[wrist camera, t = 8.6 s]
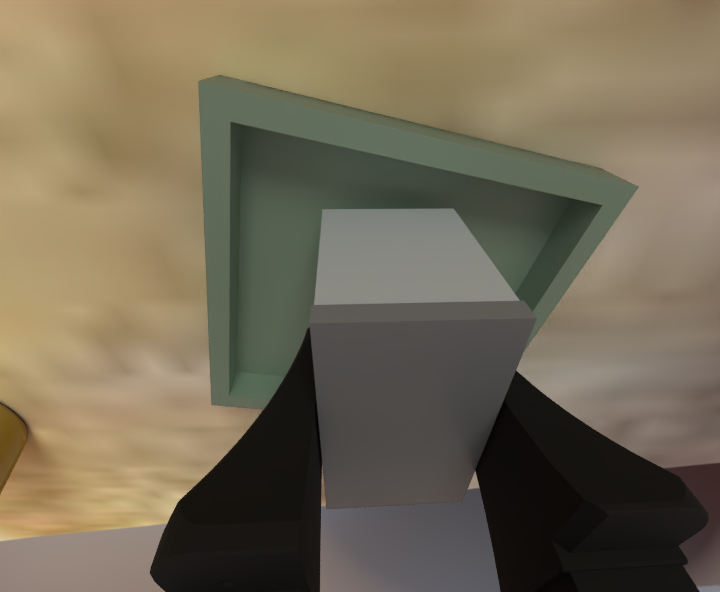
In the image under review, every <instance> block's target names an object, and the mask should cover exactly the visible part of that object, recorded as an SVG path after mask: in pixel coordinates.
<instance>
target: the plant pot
mask: <svg viewBox="0 0 720 592" xmlns="http://www.w3.org/2000/svg"><path fill="white" fill-rule="evenodd" d="M27 437H28V432H27V428H26V426H25V424H24V423H23V422H22V420H21V419H20V418H19V417H18V416H17V415H16V414H15V413H13V412H12V411H11V410H10V409H8V408H7V407H5V406H4V405H2V404H0V494H1V492H2V490H3V488H4V486H5V484H6V482H7V480H8V478H9V476H10V474H11V472H12V470H13V468H14V466H15V464H16V462H17V460H18V458H19V456H20V454H21V452H22V450H23V448H24V446H25V443H26V441H27Z"/></svg>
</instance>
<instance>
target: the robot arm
mask: <svg viewBox="0 0 720 592" xmlns="http://www.w3.org/2000/svg"><path fill="white" fill-rule="evenodd" d="M475 471H476V475H477V479H478V483H479V487H480V491H481V496H482V500H483V504H484V509H485V513H486V518H487V523H488V527H489V532H490V537H491V542H492V547H493V552H494V556H495V563H496V568H497V574H498V579H499V585H500V590H501V592H720V585H705V586H696V585H695V584H694V582H693V581H692V579H691V578H690V576H689V575H688V573H687V572H686V570H685V568H684V567H683V565H685V564H687V563H688V561H687V558H686V556H685V555H684V554H683V552H682V551H681V549H680V548H679V546H678V545H680V544H681V543H683V542H684V541H686V540H687V539H689V538H690V537H692V536H693V535H695V534H696V533H698V532H699V531H700V530H701V529H703V528H704V527H705V526H706V524H707V522H708V520H709V516H708V512H707V511H706V510H705V509H704V507H703V506H702V505H701V504H700V502H699V501H698V500H697V499H696V497H695V496H694V495H693V494H692V492H691V491H690V490H689V488H688V487H687V486H686V485H685V483H684V482H683V481H682V480H681V479H680V477H678V476H677V475H675V474H673V473H671V472H669V471H667V470H665V469H663V468H661V467H659V466H657V465H655V464H654V463H652V462H650V461H648V460H646V459H644V458H642V457H640V456H638V455H636V454H634V453H633V452H631V451H629V450H627V449H626V448H624V447H622V446H621V445H619V444H617V443H615V442H614V441H612V440H610V439H609V438H607V437H605V436H604V435H602V434H600V433H599V432H597V431H596V430H594V429H592V428H591V427H589V426H588V425H586V424H585V423H583V422H582V421H580V420H579V419H577V418H576V417H574V416H573V415H571V414H570V413H569V412H567V411H566V410H564V409H563V408H562V407H560V406H559V405H558V404H556V403H555V402H554V401H552V400H551V399H550V398H548V397H547V396H546V395H544V394H543V393H542V392H541V391H539V390H538V389H537V388H536V387H534V386H533V385H532V384H531V383H530V382H529V381H528V380H526V379H525V378H524V377H523V376H522V375H521V374H519V373H518V372H517V371H515V374H514V376H513V379H512V381H511V384H510V386H509V388H508V391H507V393H506V396H505V398H504V401H503V403H502V406H501V408H500V411H499V413H498V415H497V418H496V420H495V423H494V425H493V428H492V430H491V433H490V435H489V438H488V440H487V442H486V445H485V447H484V450H483V452H482V455H481V457H480V460H479V462H478V465H477V467H476V469H475ZM321 479H322V454H321V443H320V432H319V421H318V410H317V399H316V389H315V378H314V367H313V356H312V345H311V334H310V327H309V328H308V329H307V331H306V334H305V337H304V340H303V342H302V344H301V347H300V349H299V351H298V353H297V355H296V357H295V359H294V361H293V363H292V365H291V367H290V369H289V371H288V372H287V374H286V376H285V378H284V379H283V381H282V382H281V384H280V386H279V387H278V389H277V391H276V392H275V394H274V395H273V397H272V398H271V400H270V401H269V403H268V404H267V406H266V407H265V408H264V410H263V411H262V412H261V414H260V415H259V417H258V418H257V419H256V420H255V422H254V423H253V424H252V425H251V427H250V428H249V429H248V430H247V432H246V433H245V434H244V435H243V436H242V438H241V439H240V440H239V441H238V442H237V443H236V445H235V446H234V447H233V448H232V449H231V450H230V451H229V452H228V453H227V454H226V455H225V456H224V458H223V459H222V460H221V461H220V462H219V463H218V464H217V465H216V466H215V467H214V468H213V469H212V470H211V471H210V472H209V473H208V474H207V475H206V476H205V477H204V478H203V479H202V480H201V481H200V482H199V483H198V484H197V485H196V486H194V487H193V488H192V489H191V490H190V491H189V492H188V493H187V494H186V495H185V496H184V497H183V498H182V499H181V500H180V501H179V502H178V504H177V505H176V507H175V509H174V511H173V513H172V515H171V517H170V519H169V521H168V524H167V526H166V528H165V530H164V532H163V534H162V537H161V540H160V543H159V545H158V548H157V552H156V554H155V557H154V560H153V563H152V566H151V570H150V574H151V576H152V578H153V580H154V581H155V582H156V583H157V584H158V585H159V586H160V587H161V588H162V589H163V590H164V591H165V592H320V532H321V531H320V529H321Z"/></svg>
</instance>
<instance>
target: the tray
mask: <svg viewBox="0 0 720 592" xmlns="http://www.w3.org/2000/svg"><path fill="white" fill-rule="evenodd" d="M198 84H199V108H200V133H201V158H202V182H203V207H204V232H205V256H206V281H207V306H208V330H209V355H210V379H211V404H212V405H219V406H231V407H242V408H254V409H264V408H265V407H266V406H267V404H268V403H269V401H270V400H271V398H272V397H273V395H274V394H275V392H276V391H277V389H278V387H279V386H280V384H281V382H282V381H283V379H284V378H285V376H286V374H287V372H288V371H289V369H290V367H291V365H292V363H293V361H294V359H295V357H296V355H297V353H298V351H299V349H300V347H301V344H302V342H303V340H304V337H305V334H306V331H307V329H308V328H309V327H310V324H309V323H310V313H311V305H314V300H315V288H316V277H317V266H318V255H319V243H320V232H321V221H322V209H453V208H454V210H455V211H456V213H457V214H458V215H459V217H460V218H461V219H462V221H463V222H464V224H465V225H466V226H467V228H468V229H469V231H470V232H471V233H472V235H473V236H474V238H475V239H476V240H477V242H478V243H479V244H480V246H481V247H482V249H483V250H484V251H485V253H486V254H487V256H488V257H489V258H490V260H491V261H492V263H493V264H494V265H495V267H496V268H497V269H498V271H499V272H500V274H501V275H502V276H503V278H504V279H505V281H506V282H507V283H508V285H509V286H510V287H511V289H512V290H513V292H514V293H515V294H516V296H517V297H518V299H519V300H520V301H525V302H526V304H527V305H528V306H529V308H530V309H531V310H532V312H533V313H534V315H535V316H536V317H537V320H536V322H535V325H534V327H533V330H532V332H531V334H530V337H529V339H528V342H527V344H526V347H525V349H526V348H527V346H528V345H529V343H530V342H531V341H532V339H533V338H534V336H535V335H536V333H537V332H538V331H539V329H540V328H541V326H542V325H543V323H544V322H545V321H546V319H547V318H548V316H549V315H550V313H551V312H552V311H553V309H554V308H555V306H556V305H557V303H558V302H559V301H560V299H561V298H562V296H563V295H564V293H565V292H566V290H567V289H568V288H569V286H570V285H571V283H572V282H573V280H574V279H575V278H576V276H577V275H578V273H579V272H580V270H581V269H582V268H583V266H584V265H585V263H586V262H587V260H588V259H589V258H590V256H591V255H592V253H593V252H594V250H595V249H596V247H597V246H598V245H599V243H600V242H601V240H602V239H603V237H604V236H605V235H606V233H607V232H608V230H609V229H610V227H611V226H612V225H613V223H614V222H615V220H616V219H617V217H618V216H619V215H620V213H621V212H622V210H623V209H624V207H625V206H626V205H627V203H628V202H629V200H630V199H631V197H632V196H633V194H634V193H635V192H636V190H637V189H638V186H636V185H634V184H632V183H630V182H628V181H626V180H624V179H622V178H619V177H617V176H615V175H613V174H611V173H609V172H607V171H605V170H603V169H600V168H596V167H592V166H588V165H584V164H580V163H576V162H572V161H568V160H564V159H560V158H556V157H552V156H547V155H543V154H539V153H535V152H531V151H527V150H523V149H519V148H515V147H511V146H507V145H503V144H499V143H495V142H490V141H486V140H482V139H478V138H474V137H470V136H466V135H462V134H458V133H454V132H450V131H446V130H442V129H438V128H433V127H429V126H425V125H421V124H417V123H413V122H409V121H405V120H401V119H397V118H393V117H389V116H385V115H381V114H376V113H372V112H368V111H364V110H360V109H356V108H352V107H348V106H344V105H340V104H336V103H332V102H328V101H324V100H319V99H315V98H311V97H307V96H303V95H299V94H295V93H291V92H287V91H283V90H279V89H275V88H271V87H267V86H262V85H258V84H254V83H250V82H246V81H242V80H238V79H234V78H230V77H226V76H222V75H218V76H214V77H211V78H207V79H203V80H200V81H198ZM525 349H524V351H525Z"/></svg>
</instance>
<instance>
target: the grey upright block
mask: <svg viewBox="0 0 720 592" xmlns="http://www.w3.org/2000/svg"><path fill="white" fill-rule="evenodd" d="M536 320H537V317H536V316H535V315H534V313H533V312H532V310H531V309H530V308H529V306H528V305H527V304H526V302H525V301H520V300H519V299H518V297H517V296H516V294H515V293H514V292H513V290H512V289H511V287H510V286H509V285H508V283H507V282H506V281H505V279H504V278H503V276H502V275H501V274H500V272H499V271H498V269H497V268H496V267H495V265H494V264H493V263H492V261H491V260H490V258H489V257H488V256H487V254H486V253H485V251H484V250H483V249H482V247H481V246H480V244H479V243H478V242H477V240H476V239H475V238H474V236H473V235H472V233H471V232H470V231H469V229H468V228H467V226H466V225H465V224H464V222H463V221H462V219H461V218H460V217H459V215H458V214H457V213H456V211H455V210H454V208H453V209H322V221H321V232H320V243H319V255H318V266H317V277H316V288H315V300H314V305H311V313H310V323H309V324H310V334H311V345H312V356H313V367H314V378H315V389H316V399H317V410H318V421H319V432H320V443H321V454H322V465H323V475H324V486H325V497H326V508H327V509H339V508H358V507H377V506H397V505H415V504H436V503H454V502H462V501H463V499H464V496H465V494H466V492H467V489H468V487H469V484H470V482H471V479H472V477H473V474H474V472H475V469H476V467H477V465H478V462H479V460H480V457H481V455H482V452H483V450H484V447H485V445H486V442H487V440H488V438H489V435H490V433H491V430H492V428H493V425H494V423H495V420H496V418H497V415H498V413H499V411H500V408H501V406H502V403H503V401H504V398H505V396H506V393H507V391H508V388H509V386H510V384H511V381H512V379H513V376H514V374H515V371H516V369H517V366H518V364H519V361H520V359H521V357H522V354H523V352H524V349H525V347H526V344H527V342H528V339H529V337H530V334H531V332H532V330H533V327H534V325H535V322H536Z"/></svg>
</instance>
